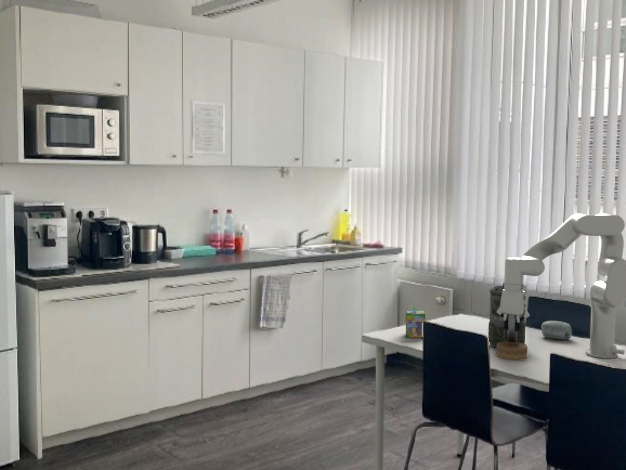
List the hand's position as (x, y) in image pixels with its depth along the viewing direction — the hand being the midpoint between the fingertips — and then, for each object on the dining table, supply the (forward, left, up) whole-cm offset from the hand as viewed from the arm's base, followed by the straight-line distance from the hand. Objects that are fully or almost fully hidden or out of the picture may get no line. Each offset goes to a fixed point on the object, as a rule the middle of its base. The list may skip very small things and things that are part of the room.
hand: (512, 330), depth 295 cm
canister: (+9, -16, -11) cm, 22 cm away
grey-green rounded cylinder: (-4, -43, -12) cm, 45 cm away
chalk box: (+50, -7, -12) cm, 52 cm away
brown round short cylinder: (0, 0, -11) cm, 11 cm away
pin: (0, 0, -5) cm, 5 cm away
